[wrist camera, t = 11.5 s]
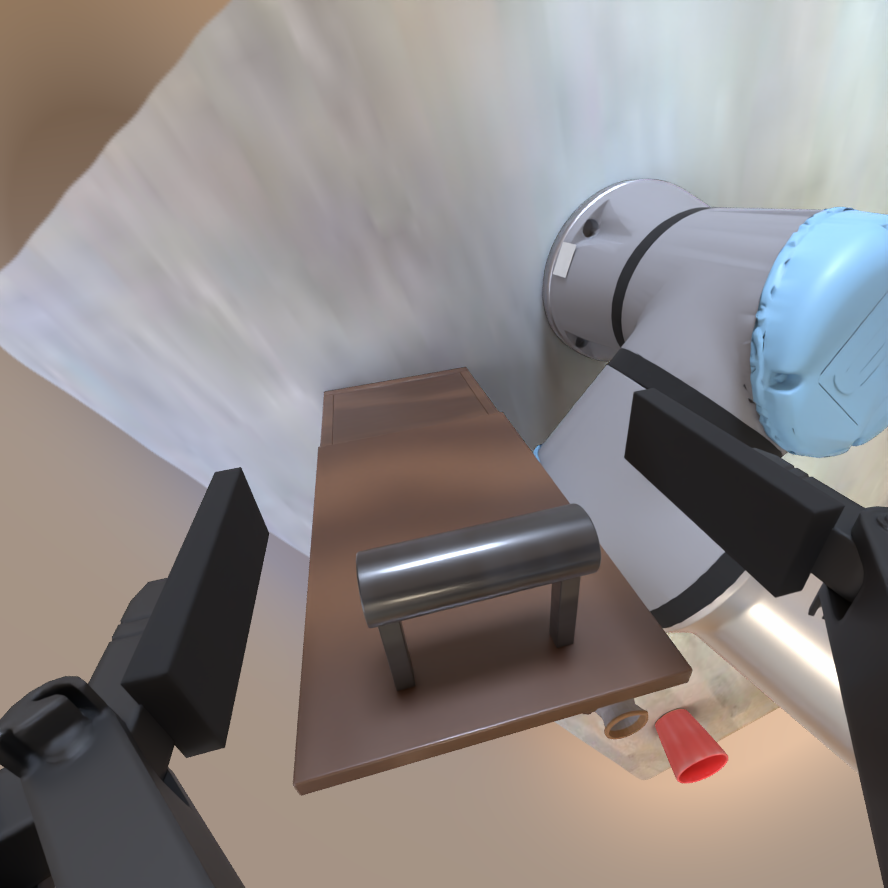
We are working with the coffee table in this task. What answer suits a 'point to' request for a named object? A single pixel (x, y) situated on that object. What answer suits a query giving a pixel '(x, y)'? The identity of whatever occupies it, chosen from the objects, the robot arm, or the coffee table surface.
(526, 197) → the coffee table surface
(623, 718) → the coffee pot
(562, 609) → the lid
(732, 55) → the coffee table surface
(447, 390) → the chest
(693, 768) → the flower pot
